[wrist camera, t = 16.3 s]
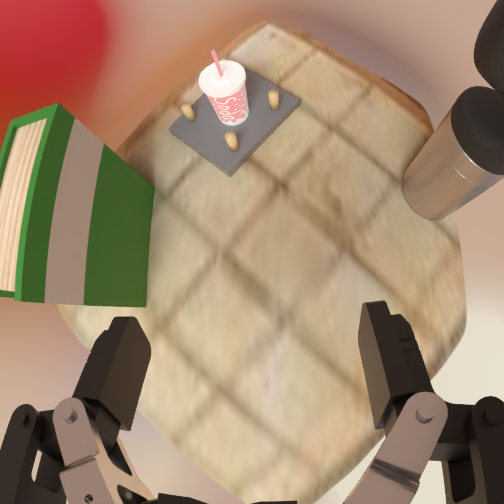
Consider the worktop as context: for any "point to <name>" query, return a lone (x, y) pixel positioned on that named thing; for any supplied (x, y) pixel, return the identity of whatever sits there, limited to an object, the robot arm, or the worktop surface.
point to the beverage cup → (226, 90)
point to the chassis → (238, 136)
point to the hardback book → (70, 216)
